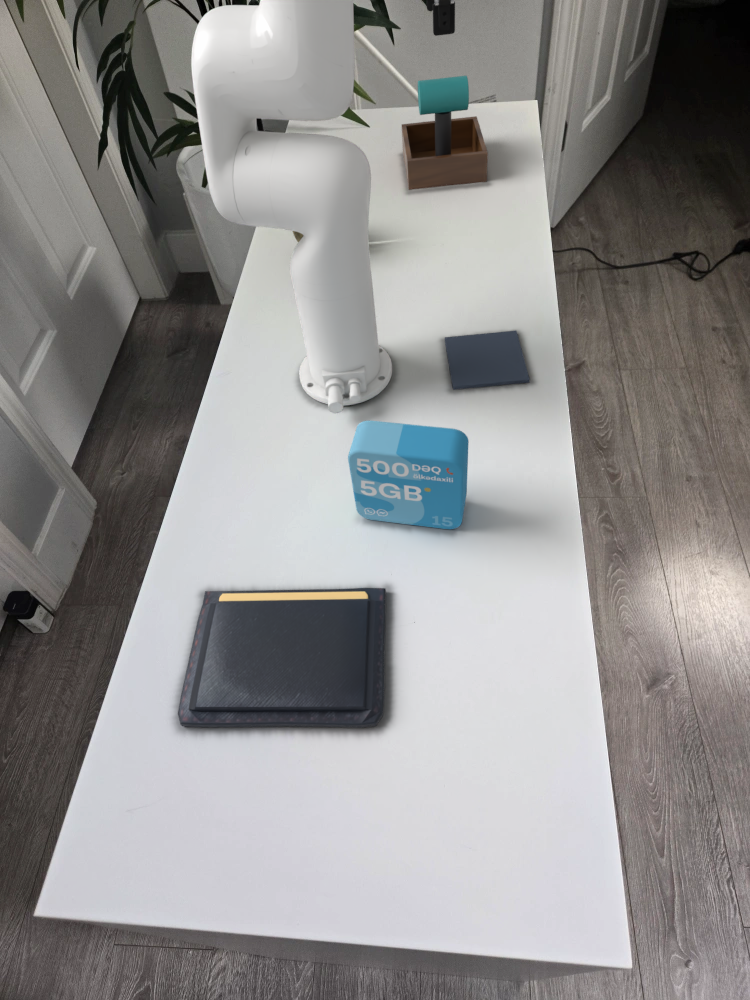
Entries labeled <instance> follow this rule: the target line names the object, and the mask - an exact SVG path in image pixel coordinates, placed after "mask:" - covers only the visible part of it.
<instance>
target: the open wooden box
mask: <svg viewBox="0 0 750 1000" xmlns="http://www.w3.org/2000/svg"><path fill="white" fill-rule="evenodd" d="M401 142H402V143H401V144H402V154H403V155H402V156H403V162H404V168H405V176H406V181H407V189H408V190H409V191H413V190H420V189H421V190H422V189H428V188H429V189H430V188H431V189H432V188H441V187H451V186H460V185H467V184H469V185H470V184H478V183H479V184H480V183H487V181H488V163H489V162H488V161H489V160H488V159H489V152H488V148H487V146H486V142H485V139H484V136H483V132H482V129H481V126H480V122H479V119H478V117H477V116H465V117H458V118H457V117H456V118H451V155H442V156H435V120H430V121H429V120H428V121H420V122H419V121H418V122H411V123H402V124H401Z"/></svg>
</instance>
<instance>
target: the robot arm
mask: <svg viewBox="0 0 750 1000" xmlns="http://www.w3.org/2000/svg"><path fill="white" fill-rule="evenodd" d="M426 9H427V11H428V12H432V33H433V36H436V37H437V36H438V37H439V36H445V35H453V34H454V33H455V31H456V2H455V0H426ZM354 16H355V15H354V0H259V4H258V5H257V4H255V5H254V4H253V5H250V4H226V5H221V6H217V7H214V8H212V9H210V10H209V11H207V12H206V13H205V14H204V15H203V16H202V17H201V18H200V20H199V22H198V23H197V26H196V29H195V32H194V35H193V39H192V45H191V58H190V65H191V78H192V88H193V94H194V103H195V108H196V114H197V115H196V116H197V121H198V127H199V134H200V140H201V148H202V154H203V155H202V156H203V159H204V160H203V161H204V167H205V175H206V179H207V185H208V189H209V193H210V197H211V200H212V202H213V205H214V207H215V209H216V211H217V212H218V213H219V215H220V216H221V217H222V218H224V219H225V221H226V220H227V221H228V222H231V223H232V224H236V225H241V226H247V227H248V226H249V227H254V228H255V227H256V228H264V229H265V228H266V229H275V230H284V231H291V232H293V231H296V232H299V233H301V234H303V235H304V236H303V237H302V239H301V240H300V241H299V243H298V242H297V244H296V246H295V247H294V249H293V251H292V253H291V256H290V260H289V274H290V279H291V284H292V288H293V293H294V298H295V303H296V308H297V312H298V313H297V314H298V318H299V322H300V327H301V332H302V333H301V334H302V336H303V337H302V338H303V342H304V347H305V353H306V356H305V357H304V358H303V360H302V362H301V363H300V366H299V369H298V370H299V372H298V373H299V375H298V376H299V382H300V384H301V386H302V387H301V388H302V389H303V390H304V391H305V393H306V394H307V395H308V396H310V398H312V399H314V400H315V401H317V402H320V403H323V404H325V405H327V408H328V411H329V412H330V413H332V414H340V413H341V412H342V411H343V410H344V406H350V405H351V406H352V405H357V404H360V403H363V402H366V401H368V400H371V399H373V398H374V397H376V396H378V395H379V394H380V393H381V392H382V391H384V390H385V388H386V387H387V386H388V384H389V383H390V381H391V378H392V375H393V363H392V358H391V357H390V354H389V353H388V351H387V350H386V349H385V348H384V347H383V346H381V345H379V335H378V326H377V317H376V306H375V295H374V287H373V275H372V269H371V268H372V265H371V254H370V242H369V239H370V238H369V236H370V235H369V225H370V224H369V223H370V222H369V219H370V207H371V206H370V205H371V193H372V192H371V191H372V173H371V166H370V161H369V159H368V157H367V155H366V153H365V152H364V151H363V149H361V148H360V147H359V146H358V145H357V144H356V143H354V142H352V141H350V140H348V139H345V138H343V137H338V136H334V135H328V134H321V133H319V134H318V133H302V132H281V131H264V130H257V128H258V127H257V119H263V120H264V119H265V120H279V121H294V122H295V121H298V122H322V121H323V122H324V121H330V120H334V119H337V118H339V117H341V116H343V115H344V114H345V113H346V112H347V111H348V109H349V107H350V105H351V103H352V100H353V96H354V95H353V94H354V87H355V19H354V18H355V17H354Z"/></svg>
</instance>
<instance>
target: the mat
mask: <svg viewBox="0 0 750 1000" xmlns="http://www.w3.org/2000/svg"><path fill="white" fill-rule="evenodd" d="M444 344H445V350H446V357H447V362H448V368H449V374H450V380H451V385H452V390H453V391H454V390H464V389H475V388H476V389H477V388H487V387H497V386H505V385H508V386H509V385H517V384H518V385H519V384H528V383H530V380H531V379H530V375H529V371H528V368H527V364H526V360H525V357H524V353H523V350H522V346H521V342H520V339H519V335H518V331H517V330H516V329H515V330H505V331H496V332H495V331H494V332H485V333H476V334H475V333H474V334H466V335H454V336H445V337H444Z"/></svg>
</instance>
